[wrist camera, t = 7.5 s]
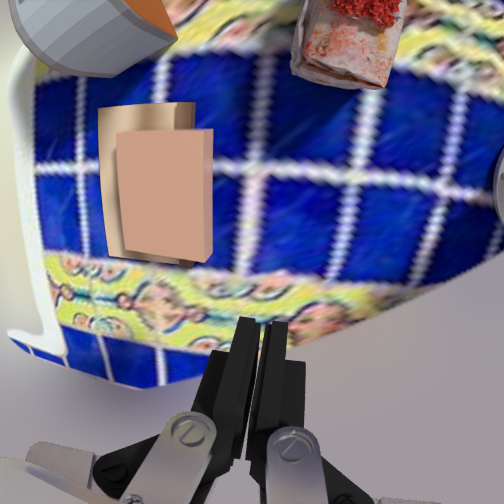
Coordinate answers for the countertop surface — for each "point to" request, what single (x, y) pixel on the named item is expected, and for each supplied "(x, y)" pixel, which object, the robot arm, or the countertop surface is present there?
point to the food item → (347, 42)
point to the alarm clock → (92, 33)
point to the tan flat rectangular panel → (108, 126)
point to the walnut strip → (186, 122)
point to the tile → (166, 191)
